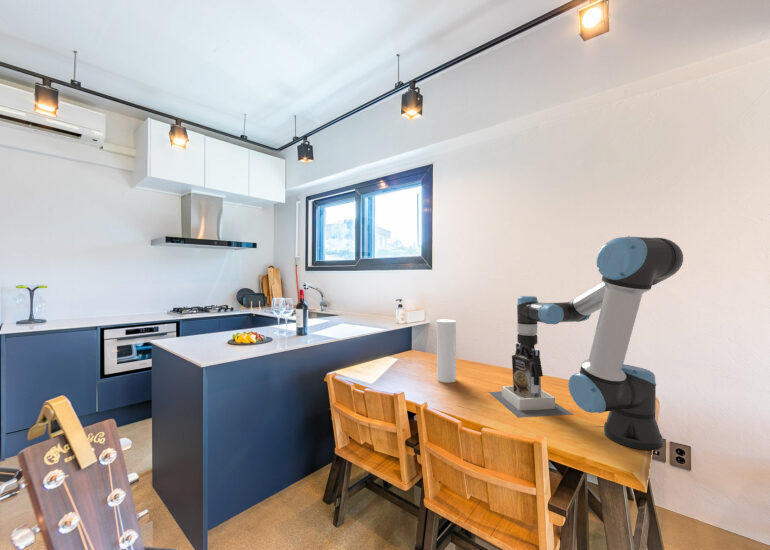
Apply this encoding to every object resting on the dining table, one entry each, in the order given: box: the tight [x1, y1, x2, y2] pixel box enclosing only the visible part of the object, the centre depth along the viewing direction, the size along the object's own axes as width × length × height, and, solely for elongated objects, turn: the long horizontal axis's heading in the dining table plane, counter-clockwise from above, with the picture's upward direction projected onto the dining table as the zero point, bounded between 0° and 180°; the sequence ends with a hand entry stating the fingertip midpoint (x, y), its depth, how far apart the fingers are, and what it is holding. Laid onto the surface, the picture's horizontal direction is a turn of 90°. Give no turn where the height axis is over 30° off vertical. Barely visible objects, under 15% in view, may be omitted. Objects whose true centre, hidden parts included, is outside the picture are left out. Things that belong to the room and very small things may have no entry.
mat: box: [488, 390, 574, 419], centre depth 135 cm, size 26×22×1 cm
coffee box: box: [511, 354, 542, 398], centre depth 135 cm, size 9×6×16 cm
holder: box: [501, 385, 556, 410], centre depth 135 cm, size 15×15×4 cm
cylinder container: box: [436, 318, 457, 384], centre depth 165 cm, size 9×9×30 cm
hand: (527, 387), depth 135 cm, fingers closed on coffee box, 10 cm apart
